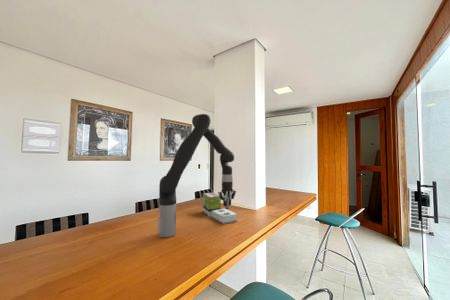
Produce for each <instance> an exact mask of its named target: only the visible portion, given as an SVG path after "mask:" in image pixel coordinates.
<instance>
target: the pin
mask: <svg viewBox="0 0 450 300" xmlns="http://www.w3.org/2000/svg"><path fill="white" fill-rule="evenodd" d="M224 209H227V210H230V206H229V195H228V196H227V198H226V206H224Z"/></svg>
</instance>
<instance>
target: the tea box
mask: <svg viewBox="0 0 450 300" xmlns="http://www.w3.org/2000/svg"><path fill="white" fill-rule="evenodd" d="M221 201H222V200H221V199H220V196H219V194H217V193H215V192H206V193H202V211H203V213H205V214H206V215H207V216H208V217H212V211H213V210H219V209H222V205H221V204H222V203H221Z"/></svg>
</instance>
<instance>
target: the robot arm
mask: <svg viewBox="0 0 450 300" xmlns="http://www.w3.org/2000/svg"><path fill="white" fill-rule="evenodd" d="M211 122H212V121H211V118H210V116H209V115H208V114H206V113H200V114H196V115H194V116H193V117H192V119H191V123H192V126H193V129H192V131H191V132H190V133H189V134H188V135H187V136H186V138H185V139H184V140H183V141H182V142H181V144H180V145H179V147H178V148H177V151H176V152H175V155H174V158H173V161H172V164H171V167H170V168H169V169H168V171H167V173H166V175H164V176H162V177H161V178H160V180H159V193H158V195H159V196H158V197H159V213H158V214H159V215H158V219H157V220H158V222H157V224H158V227H157V234H158V236H159V239H160V238H170V237H174V236H176V234H177V195H176V194H177V193H176V190H177V187H178V185H179V182H180V179H181V177H182V175H183V173H184V171H185V169H186V167H187V166H188V165H189V162H190V161H191V159H192V157H193V156H194V154H195V152H196V150H197V147H198V146H199V144H200V141H201V140H202V138H203V137H204V138H205V139H206V140H207V142H208V143H209V144H210V145H211V146H212V148H213V149H214V150H215V151H216V153H217V154H220V156H219V163H220V165H221V190H220V191H218V192H217V193H218V194H217V195H219V196H220V199H221V201H222V205H223V206H224V207H225V206H226V198H227V196H228V195H229V207H230V206H231V205H232V200H235V199H234V198H235V196H236V193H237V191H236V190H235V189H233V185H234V184H233V167H232V166H231V165H229V163H232V162H233V161H235V154H234V152H233V151H231V150H230V149H229V148H228V147H226V145H225V144H224V143H223V140H221V138H219V136H217V135H216V134H215V133H214V132H213V131H212V130H211V129H210V128H209V127H210V125H211Z"/></svg>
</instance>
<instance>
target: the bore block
mask: <svg viewBox="0 0 450 300" xmlns="http://www.w3.org/2000/svg"><path fill="white" fill-rule="evenodd" d="M211 218H212V219H214V220H215V221H216V222H219V223H221V224H222V225H226V224H231V223H235V222H238V215H237V213H235V212H233V211H231V210H230V209H225V208H221V209H219V210H213V211H212V216H211Z"/></svg>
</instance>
